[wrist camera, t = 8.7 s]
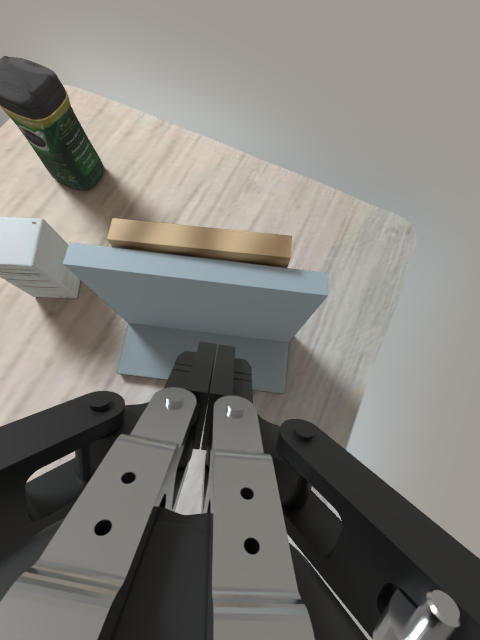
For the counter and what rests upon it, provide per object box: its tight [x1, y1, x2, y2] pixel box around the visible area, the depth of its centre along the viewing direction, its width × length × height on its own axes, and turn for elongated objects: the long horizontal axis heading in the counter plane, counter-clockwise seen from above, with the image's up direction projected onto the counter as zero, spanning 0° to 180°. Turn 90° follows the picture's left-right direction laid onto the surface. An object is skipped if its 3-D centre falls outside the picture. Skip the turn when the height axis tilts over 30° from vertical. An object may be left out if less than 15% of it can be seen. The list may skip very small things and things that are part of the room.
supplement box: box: [0, 217, 80, 298], centre depth 47 cm, size 7×7×13 cm
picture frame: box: [107, 218, 292, 268], centre depth 38 cm, size 18×2×15 cm, turn 83°
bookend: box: [63, 242, 329, 394], centre depth 40 cm, size 26×10×22 cm, turn 84°
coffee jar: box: [0, 56, 104, 190], centre depth 51 cm, size 10×8×19 cm
